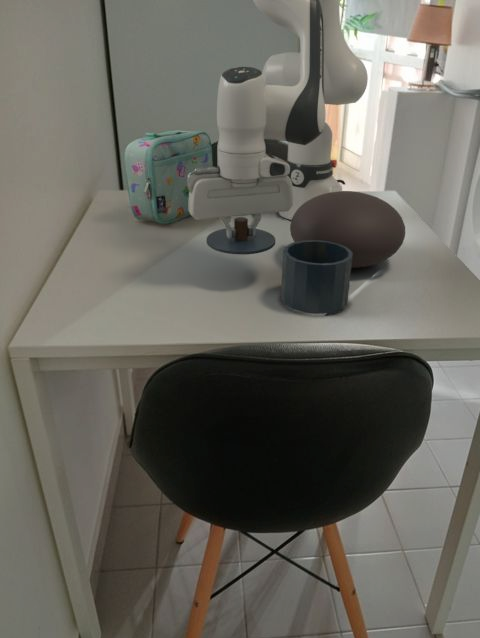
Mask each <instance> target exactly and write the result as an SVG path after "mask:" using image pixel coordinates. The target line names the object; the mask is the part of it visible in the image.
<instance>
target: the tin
mask: <svg viewBox="0 0 480 638" xmlns="http://www.w3.org/2000/svg"><path fill="white" fill-rule="evenodd" d="M352 255H353V252H352V251H351V250H350V249H349V248H348V247H345V246H343V245H341V244H338V243H334V242H329V241H321V240H304V241H298V242H294V241H293V242H290V243H288V244H287V245H285V246H284V248H283V250H282V268H281V269H282V270H281V289H280V299H281V301H282V302H283V304H284V305H285V306H287V307H289V308H290V309H292V310H295V311H298V312H302V313H307V314H316V315H318V314H320V315H321V314H324V315H323V316H324V317H326V316H332V315H337V314H339V313H342V312H343V311H344V310H346V308H347V306H348V301H349V292H350V282H351V275H352V273H351V272H352V268H351V265H352Z"/></svg>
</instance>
